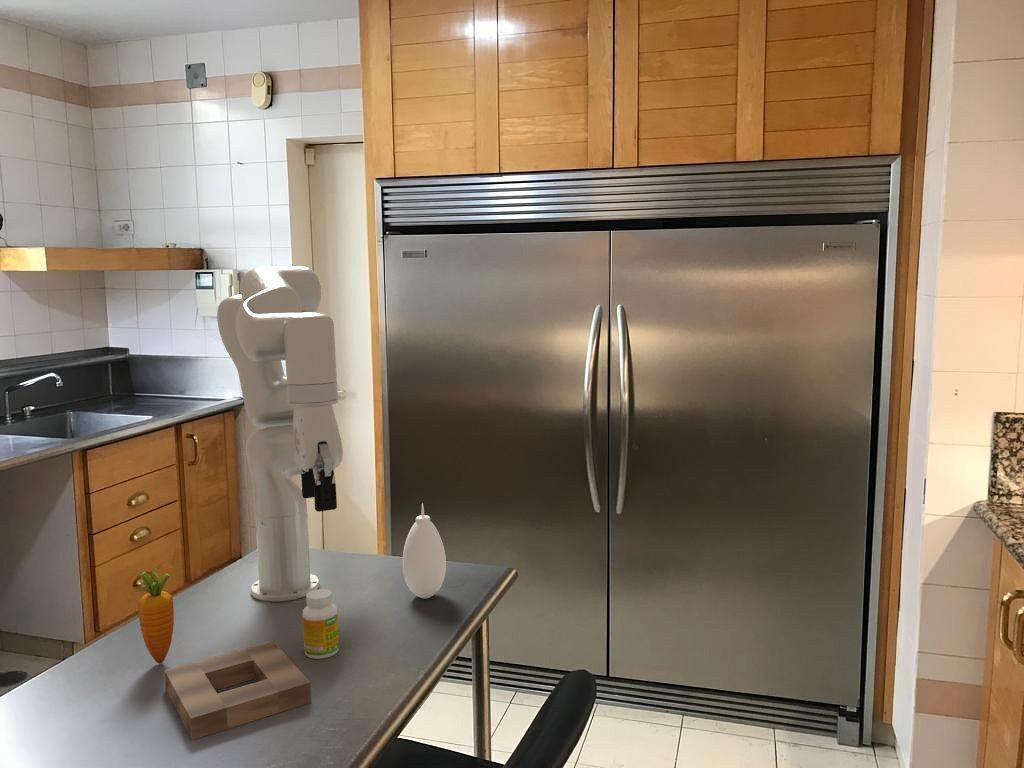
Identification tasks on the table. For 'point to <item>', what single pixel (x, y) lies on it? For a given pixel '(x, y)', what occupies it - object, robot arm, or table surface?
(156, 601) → the carrot
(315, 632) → the supplement bottle
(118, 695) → the table surface
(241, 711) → the bore block
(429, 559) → the white air blower bulb
